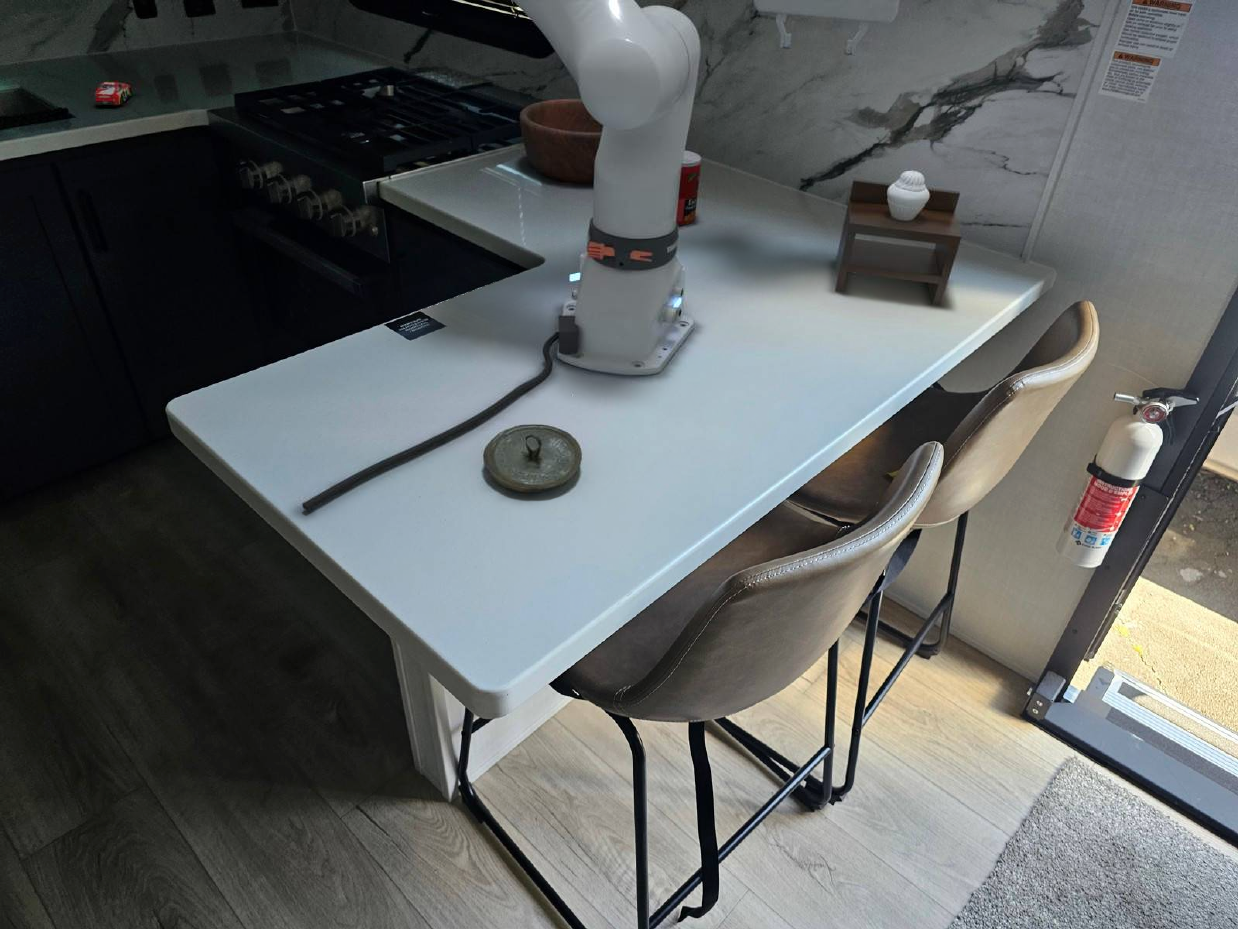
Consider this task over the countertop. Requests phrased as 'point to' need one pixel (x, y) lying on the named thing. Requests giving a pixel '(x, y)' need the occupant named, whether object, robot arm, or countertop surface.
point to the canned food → (688, 188)
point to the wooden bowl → (561, 139)
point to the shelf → (898, 260)
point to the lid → (532, 457)
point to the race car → (112, 93)
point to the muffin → (907, 196)
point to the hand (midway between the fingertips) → (816, 50)
